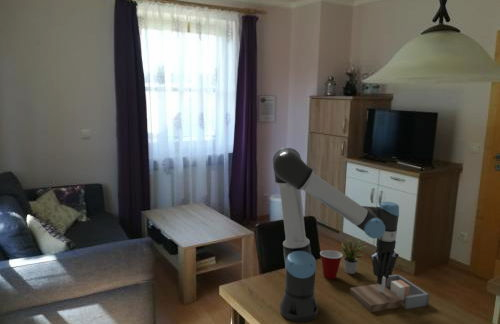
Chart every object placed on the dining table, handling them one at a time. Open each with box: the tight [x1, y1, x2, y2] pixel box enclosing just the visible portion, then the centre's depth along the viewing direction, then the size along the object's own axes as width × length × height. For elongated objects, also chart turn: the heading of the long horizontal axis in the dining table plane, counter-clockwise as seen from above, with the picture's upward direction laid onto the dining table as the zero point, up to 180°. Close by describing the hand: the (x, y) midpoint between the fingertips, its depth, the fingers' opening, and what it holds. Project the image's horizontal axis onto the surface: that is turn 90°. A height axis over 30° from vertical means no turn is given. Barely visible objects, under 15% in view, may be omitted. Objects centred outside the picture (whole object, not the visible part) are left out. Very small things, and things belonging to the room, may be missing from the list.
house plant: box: [340, 238, 369, 275], centre depth 191 cm, size 14×14×16 cm
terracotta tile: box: [396, 280, 410, 301], centre depth 169 cm, size 6×6×2 cm
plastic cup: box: [319, 250, 344, 280], centre depth 185 cm, size 11×11×12 cm
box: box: [385, 273, 430, 310], centre depth 169 cm, size 11×19×5 cm, turn 18°
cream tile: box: [389, 281, 405, 301], centre depth 168 cm, size 6×6×2 cm
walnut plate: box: [349, 283, 405, 313], centre depth 165 cm, size 16×15×3 cm
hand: (380, 290), depth 166 cm, fingers closed
